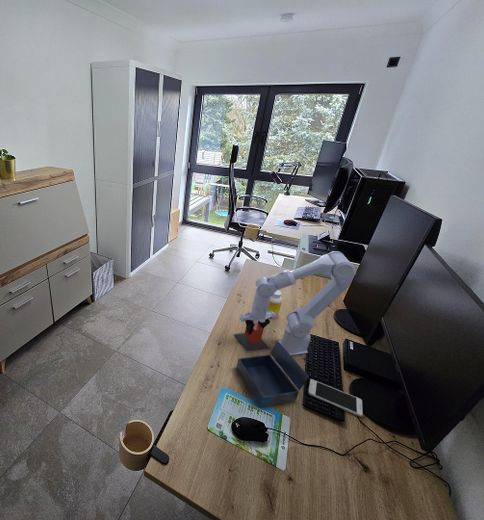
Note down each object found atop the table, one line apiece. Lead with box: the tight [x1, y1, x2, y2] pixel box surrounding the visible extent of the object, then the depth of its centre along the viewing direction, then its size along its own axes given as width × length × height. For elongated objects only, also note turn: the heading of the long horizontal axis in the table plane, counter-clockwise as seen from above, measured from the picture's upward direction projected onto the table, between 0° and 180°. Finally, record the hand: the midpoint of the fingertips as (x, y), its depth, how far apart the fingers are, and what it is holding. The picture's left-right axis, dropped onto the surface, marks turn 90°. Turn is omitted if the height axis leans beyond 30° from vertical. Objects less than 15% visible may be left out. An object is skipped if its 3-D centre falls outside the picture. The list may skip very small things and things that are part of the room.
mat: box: [234, 332, 269, 352], centre depth 123 cm, size 10×10×1 cm
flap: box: [269, 340, 310, 391], centre depth 100 cm, size 6×17×1 cm
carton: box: [235, 353, 300, 409], centre depth 102 cm, size 13×17×5 cm
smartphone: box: [307, 378, 364, 418], centre depth 99 cm, size 7×15×1 cm, turn 57°
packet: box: [243, 320, 265, 343], centre depth 120 cm, size 4×6×7 cm, turn 10°
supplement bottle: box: [267, 289, 283, 319], centre depth 137 cm, size 7×7×13 cm
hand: (253, 332), depth 121 cm, fingers closed on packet, 4 cm apart
